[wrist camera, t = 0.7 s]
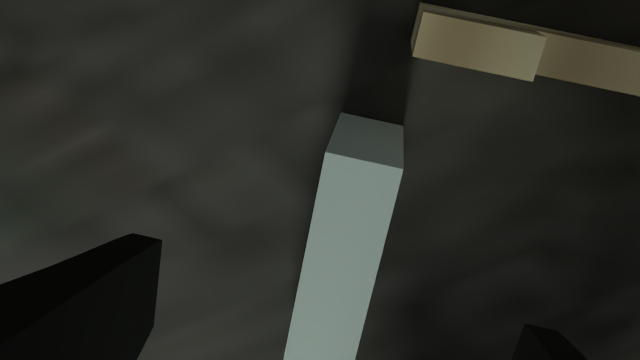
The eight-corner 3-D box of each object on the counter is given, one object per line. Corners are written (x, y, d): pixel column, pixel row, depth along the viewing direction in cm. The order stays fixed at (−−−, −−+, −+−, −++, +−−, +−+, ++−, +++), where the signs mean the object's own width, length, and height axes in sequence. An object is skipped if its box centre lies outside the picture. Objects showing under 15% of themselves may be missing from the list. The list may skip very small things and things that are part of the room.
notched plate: (345, 359, 24) (333, 443, 20) (292, 347, 25) (269, 427, 20) (403, 126, 21) (403, 169, 17) (340, 112, 21) (325, 151, 17)
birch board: (736, 67, 19) (806, 90, 15) (720, 104, 19) (785, 134, 16) (419, 2, 19) (423, 11, 16) (410, 39, 20) (412, 56, 16)
